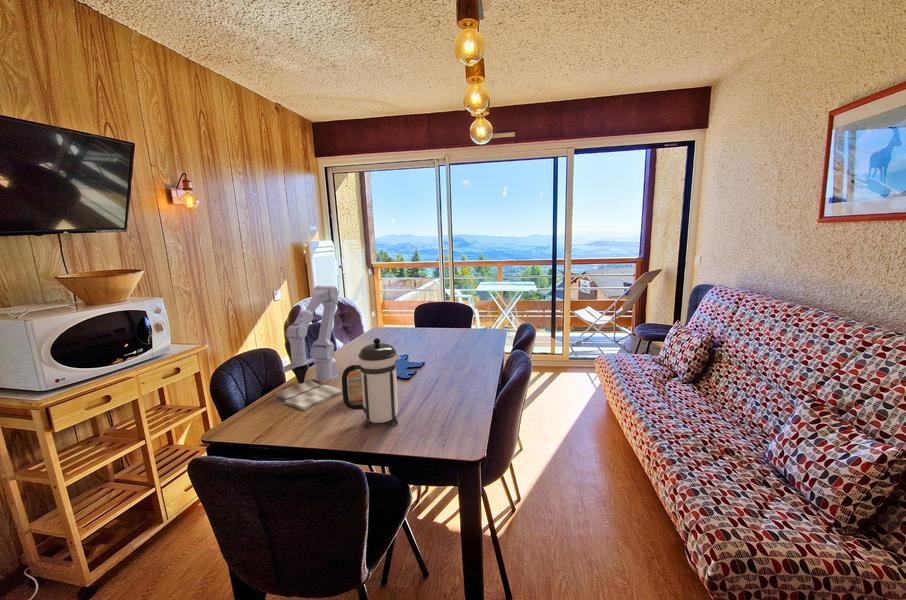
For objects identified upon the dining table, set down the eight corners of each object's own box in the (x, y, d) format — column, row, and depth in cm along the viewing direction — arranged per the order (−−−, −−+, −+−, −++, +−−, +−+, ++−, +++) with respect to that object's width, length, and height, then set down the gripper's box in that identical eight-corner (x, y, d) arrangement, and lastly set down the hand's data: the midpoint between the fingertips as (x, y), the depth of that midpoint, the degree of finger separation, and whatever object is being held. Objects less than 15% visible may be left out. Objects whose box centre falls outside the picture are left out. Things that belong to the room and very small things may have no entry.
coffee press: (382, 406, 141) (377, 330, 136) (411, 417, 131) (407, 336, 126) (343, 423, 128) (337, 340, 123) (372, 438, 117) (366, 348, 113)
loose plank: (309, 382, 163) (309, 379, 163) (319, 387, 160) (319, 385, 160) (276, 394, 150) (276, 392, 150) (286, 401, 146) (286, 398, 146)
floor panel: (312, 383, 166) (312, 380, 166) (345, 393, 154) (345, 389, 154) (270, 399, 149) (270, 396, 149) (303, 412, 137) (303, 408, 137)
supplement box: (348, 402, 145) (346, 371, 143) (348, 397, 149) (346, 367, 147) (369, 399, 147) (368, 368, 145) (369, 395, 151) (367, 365, 149)
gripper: (307, 347, 164) (309, 375, 166) (276, 355, 151) (280, 386, 154) (317, 349, 160) (319, 378, 162) (287, 358, 148) (290, 390, 150)
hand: (301, 382), depth 157 cm, fingers closed
